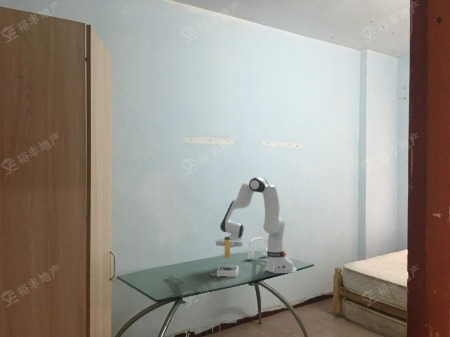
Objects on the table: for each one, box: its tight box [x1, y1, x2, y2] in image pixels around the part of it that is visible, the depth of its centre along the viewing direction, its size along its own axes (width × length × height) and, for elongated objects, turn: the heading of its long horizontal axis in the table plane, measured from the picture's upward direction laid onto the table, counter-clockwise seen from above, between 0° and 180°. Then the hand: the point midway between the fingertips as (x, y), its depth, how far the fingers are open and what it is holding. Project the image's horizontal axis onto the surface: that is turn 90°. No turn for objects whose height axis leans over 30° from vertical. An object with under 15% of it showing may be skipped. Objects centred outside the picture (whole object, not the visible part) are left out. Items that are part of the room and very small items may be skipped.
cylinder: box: [224, 236, 231, 259], centre depth 245 cm, size 4×4×14 cm
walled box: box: [216, 265, 240, 278], centre depth 244 cm, size 14×13×4 cm
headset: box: [247, 236, 268, 260], centre depth 290 cm, size 20×7×18 cm, turn 122°
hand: (227, 245), depth 244 cm, fingers closed on cylinder, 4 cm apart
